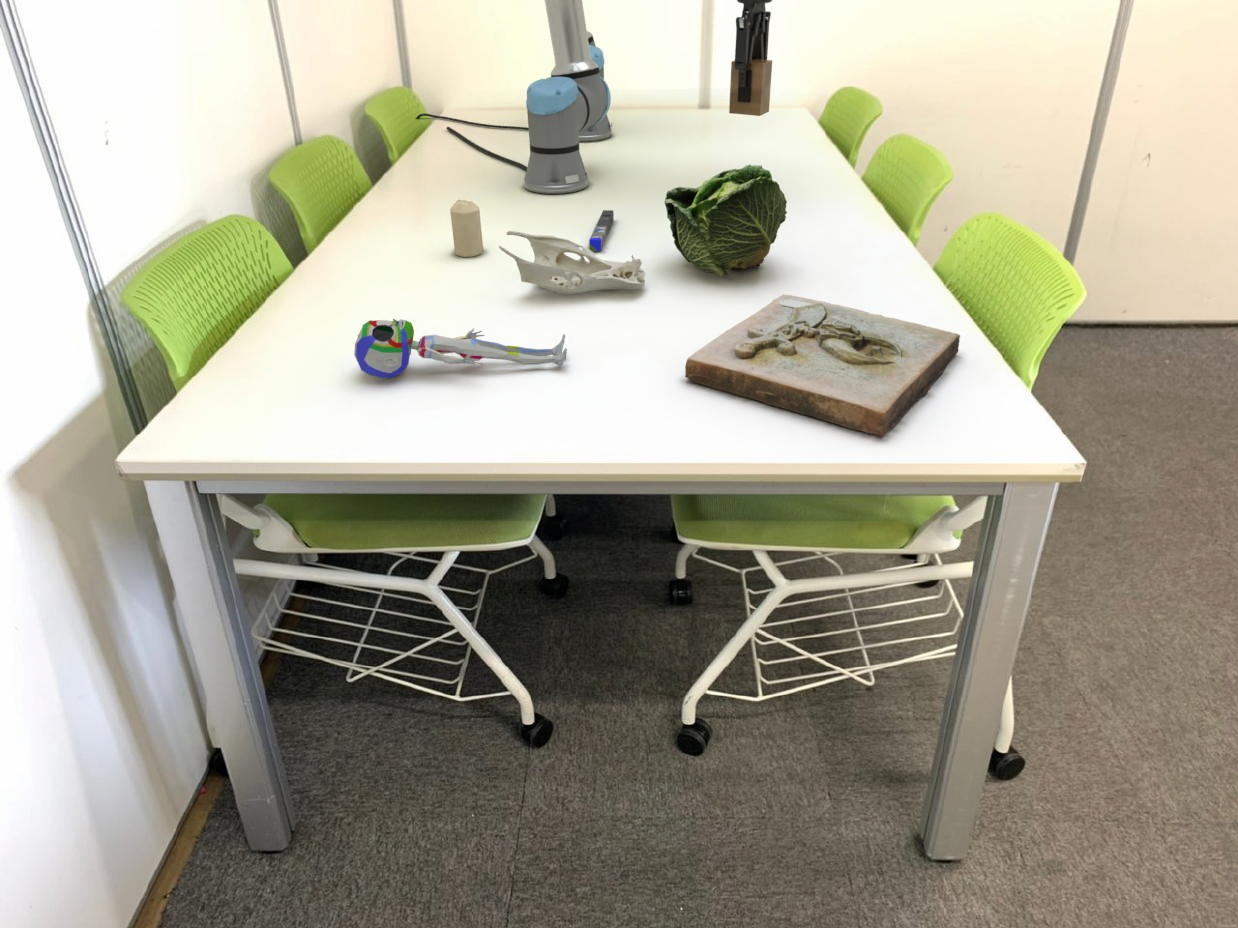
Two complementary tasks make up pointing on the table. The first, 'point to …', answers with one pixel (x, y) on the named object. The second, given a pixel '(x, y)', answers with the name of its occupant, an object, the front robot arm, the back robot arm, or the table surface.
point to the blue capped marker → (601, 230)
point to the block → (752, 89)
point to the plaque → (827, 362)
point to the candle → (466, 228)
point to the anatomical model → (574, 267)
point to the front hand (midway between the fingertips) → (749, 99)
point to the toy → (435, 349)
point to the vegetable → (727, 219)
